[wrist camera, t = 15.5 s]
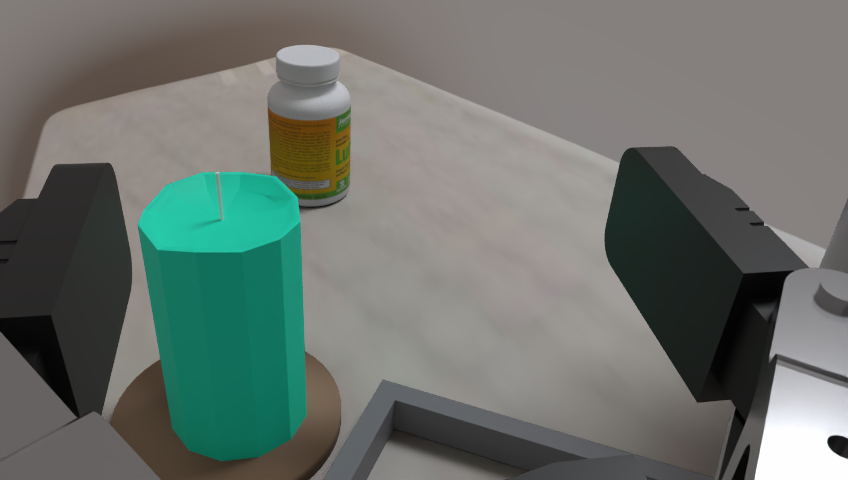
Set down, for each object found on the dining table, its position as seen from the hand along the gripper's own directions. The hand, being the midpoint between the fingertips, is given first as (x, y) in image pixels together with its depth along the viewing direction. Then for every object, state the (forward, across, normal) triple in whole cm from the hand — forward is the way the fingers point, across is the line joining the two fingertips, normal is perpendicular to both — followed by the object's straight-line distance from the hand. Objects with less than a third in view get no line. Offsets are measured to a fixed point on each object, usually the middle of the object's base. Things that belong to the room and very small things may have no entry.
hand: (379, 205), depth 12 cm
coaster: (+15, +5, +20) cm, 25 cm away
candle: (+15, +4, +20) cm, 25 cm away
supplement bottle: (+36, 0, +21) cm, 42 cm away
